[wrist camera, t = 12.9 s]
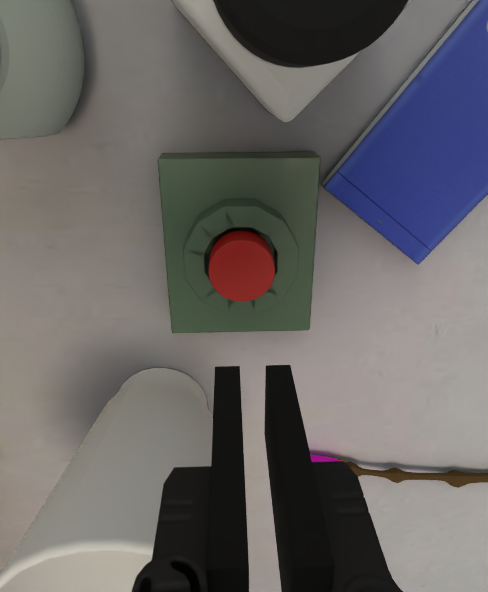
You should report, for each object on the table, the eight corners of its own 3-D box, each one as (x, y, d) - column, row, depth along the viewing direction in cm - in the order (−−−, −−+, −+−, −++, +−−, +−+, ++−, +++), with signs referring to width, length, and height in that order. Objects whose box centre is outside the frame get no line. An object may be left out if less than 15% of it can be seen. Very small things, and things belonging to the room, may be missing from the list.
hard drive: (490, -12, 23) (324, 188, 27) (586, 98, 25) (420, 266, 29) (475, -6, 24) (319, 182, 28) (567, 97, 27) (411, 258, 31)
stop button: (208, 230, 26) (207, 240, 24) (272, 229, 26) (276, 239, 24) (210, 289, 27) (209, 302, 25) (271, 288, 27) (274, 301, 26)
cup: (129, 481, 38) (70, 727, 24) (51, 372, 33) (-84, 595, 19) (262, 436, 37) (286, 669, 22) (200, 314, 32) (179, 510, 17)
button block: (162, 152, 27) (152, 163, 24) (313, 151, 27) (327, 162, 24) (175, 317, 32) (168, 348, 28) (304, 315, 32) (314, 344, 28)
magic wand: (609, 474, 41) (276, 447, 37) (629, 485, 39) (280, 457, 36) (604, 498, 41) (272, 474, 38) (624, 510, 39) (276, 485, 36)
